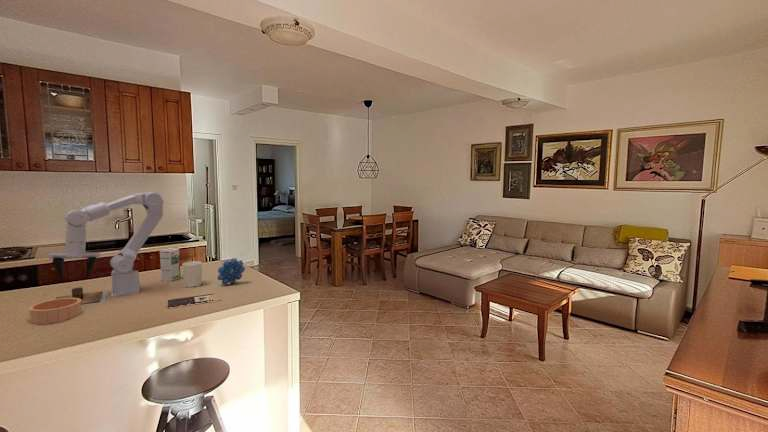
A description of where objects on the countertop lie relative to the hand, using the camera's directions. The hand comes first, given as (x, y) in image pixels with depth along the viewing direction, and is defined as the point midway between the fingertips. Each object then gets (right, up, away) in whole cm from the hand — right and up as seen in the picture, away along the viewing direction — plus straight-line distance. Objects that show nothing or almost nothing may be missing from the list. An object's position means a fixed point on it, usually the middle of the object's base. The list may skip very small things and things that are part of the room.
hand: (74, 277), depth 135 cm
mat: (0, -9, +1) cm, 10 cm away
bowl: (+6, -11, -14) cm, 19 cm away
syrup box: (+17, -7, +33) cm, 38 cm away
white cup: (+32, -8, +25) cm, 41 cm away
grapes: (+48, -8, +27) cm, 56 cm away
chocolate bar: (+44, -11, +4) cm, 45 cm away
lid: (0, -9, +1) cm, 9 cm away
